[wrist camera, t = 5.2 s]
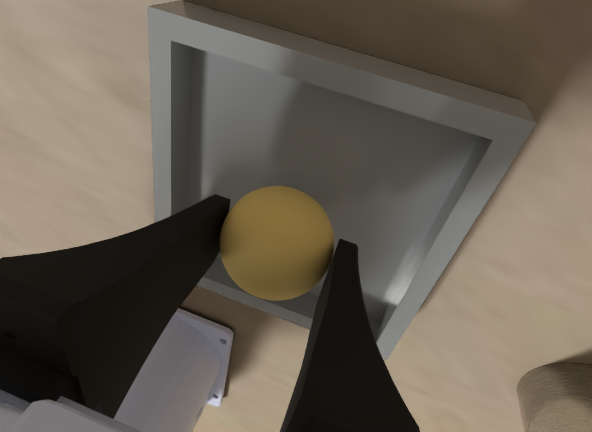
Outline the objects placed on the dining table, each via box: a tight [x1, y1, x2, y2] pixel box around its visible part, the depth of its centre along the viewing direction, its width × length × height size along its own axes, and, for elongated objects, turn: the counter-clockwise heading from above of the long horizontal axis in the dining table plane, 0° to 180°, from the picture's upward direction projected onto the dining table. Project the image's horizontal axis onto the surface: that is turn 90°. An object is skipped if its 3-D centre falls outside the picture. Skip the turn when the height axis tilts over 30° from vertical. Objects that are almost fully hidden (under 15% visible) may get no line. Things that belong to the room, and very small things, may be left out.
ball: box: [220, 186, 334, 301], centre depth 13 cm, size 4×4×4 cm
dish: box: [148, 0, 537, 360], centre depth 16 cm, size 12×12×2 cm
